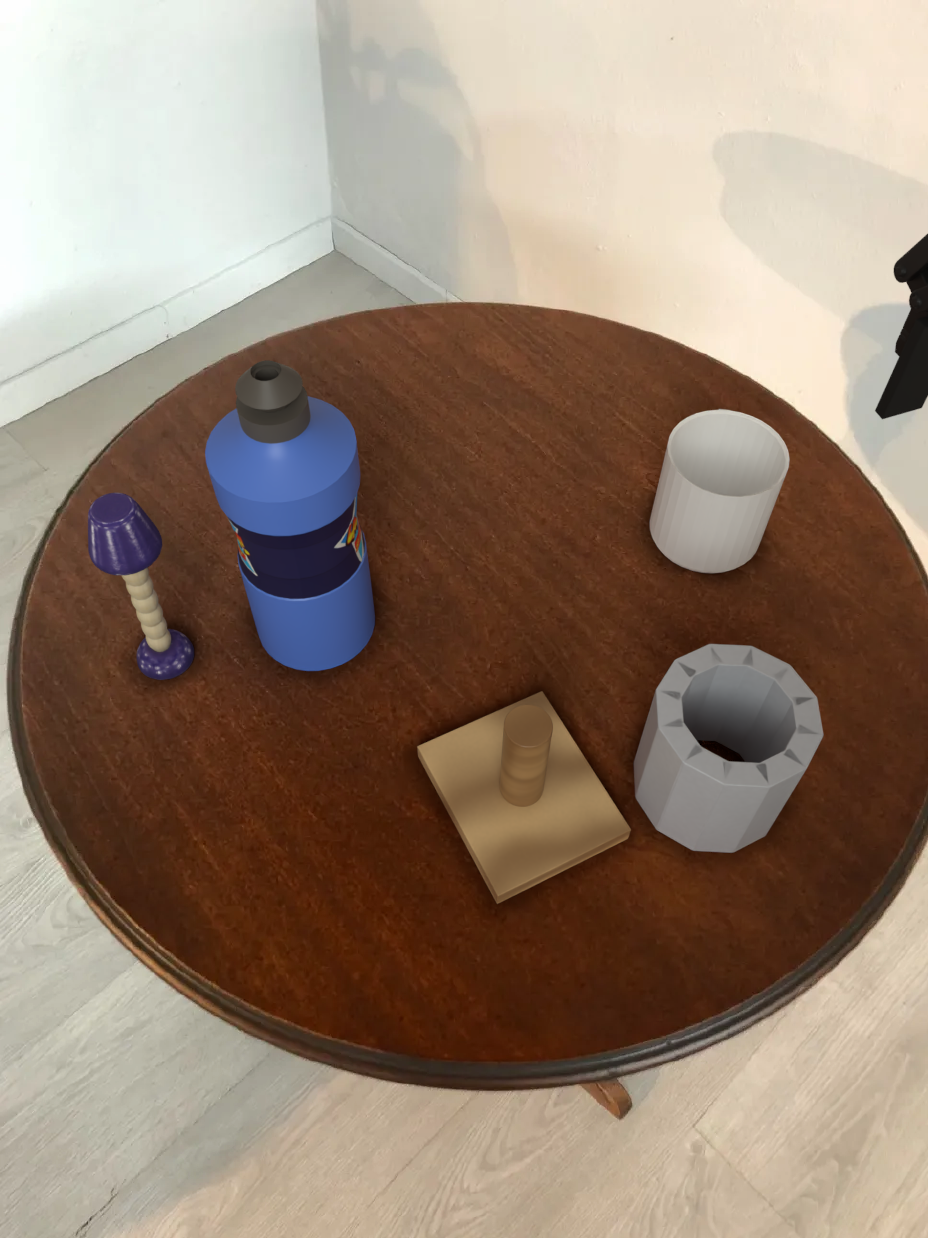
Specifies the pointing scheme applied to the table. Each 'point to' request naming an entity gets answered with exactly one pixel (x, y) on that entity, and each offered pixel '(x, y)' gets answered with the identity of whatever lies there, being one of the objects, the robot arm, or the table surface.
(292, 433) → the water bottle
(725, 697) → the silver tape
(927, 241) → the robot arm
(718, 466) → the mug
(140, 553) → the toy lamp
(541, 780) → the stand
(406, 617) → the table surface
